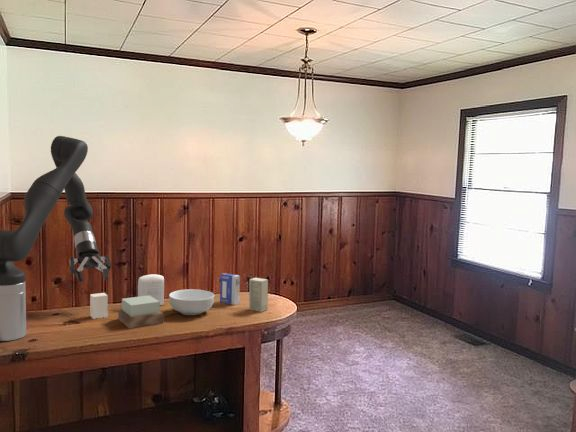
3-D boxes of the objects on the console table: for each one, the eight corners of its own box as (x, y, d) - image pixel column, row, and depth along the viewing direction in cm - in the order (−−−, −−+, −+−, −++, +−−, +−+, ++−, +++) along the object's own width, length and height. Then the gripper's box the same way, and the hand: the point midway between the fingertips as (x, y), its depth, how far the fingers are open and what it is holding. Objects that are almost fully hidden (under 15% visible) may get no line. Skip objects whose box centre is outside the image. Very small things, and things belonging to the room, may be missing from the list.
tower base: (129, 329, 164) (129, 318, 164) (118, 320, 174) (118, 309, 174) (163, 324, 171) (163, 313, 171) (151, 315, 181) (151, 305, 181)
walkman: (219, 302, 201) (220, 273, 200) (223, 300, 203) (224, 272, 202) (235, 305, 197) (236, 275, 196) (239, 303, 199) (240, 274, 198)
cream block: (93, 319, 173) (93, 296, 172) (90, 316, 176) (90, 294, 175) (107, 317, 176) (107, 295, 175) (104, 314, 179) (104, 292, 178)
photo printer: (161, 302, 197) (162, 272, 196) (165, 305, 193) (165, 274, 192) (136, 305, 191) (136, 274, 190) (139, 308, 188) (139, 276, 186)
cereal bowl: (198, 321, 174) (198, 302, 174) (159, 315, 180) (159, 296, 180) (222, 309, 190) (222, 292, 189) (185, 304, 196) (185, 286, 195)
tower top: (131, 316, 165) (131, 305, 165) (121, 309, 173) (121, 298, 173) (159, 312, 171) (159, 301, 171) (149, 306, 179) (149, 295, 179)
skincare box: (267, 309, 192) (268, 279, 191) (261, 312, 188) (262, 281, 187) (254, 306, 195) (255, 277, 194) (248, 309, 192) (249, 278, 190)
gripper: (67, 240, 182) (74, 276, 174) (106, 238, 190) (115, 273, 182) (64, 252, 187) (71, 288, 179) (103, 250, 195) (111, 284, 187)
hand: (93, 280), depth 180 cm, fingers open, 8 cm apart
